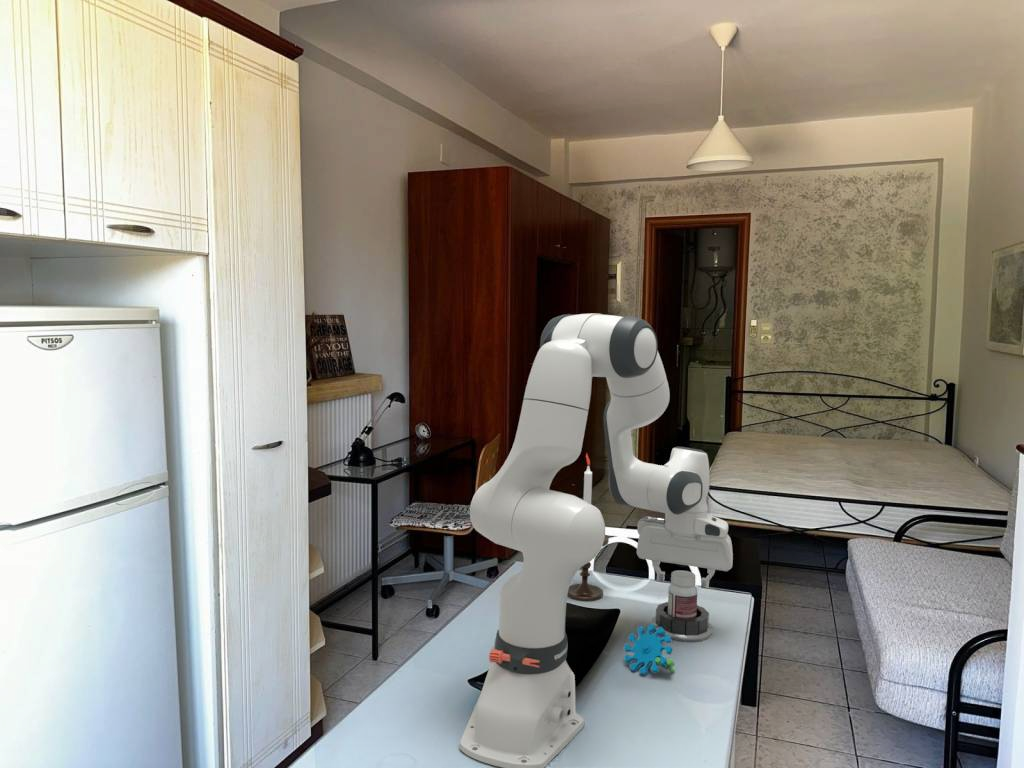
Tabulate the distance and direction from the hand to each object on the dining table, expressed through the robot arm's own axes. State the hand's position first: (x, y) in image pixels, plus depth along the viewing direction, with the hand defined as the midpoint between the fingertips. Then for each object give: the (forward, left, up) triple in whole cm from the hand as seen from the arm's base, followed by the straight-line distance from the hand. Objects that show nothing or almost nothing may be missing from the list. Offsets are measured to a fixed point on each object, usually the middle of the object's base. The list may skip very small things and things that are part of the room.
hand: (682, 583), depth 156 cm
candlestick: (+11, +25, -11) cm, 29 cm away
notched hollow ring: (+1, 0, -10) cm, 10 cm away
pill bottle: (+1, 0, -10) cm, 10 cm away
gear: (-21, +3, -11) cm, 23 cm away
